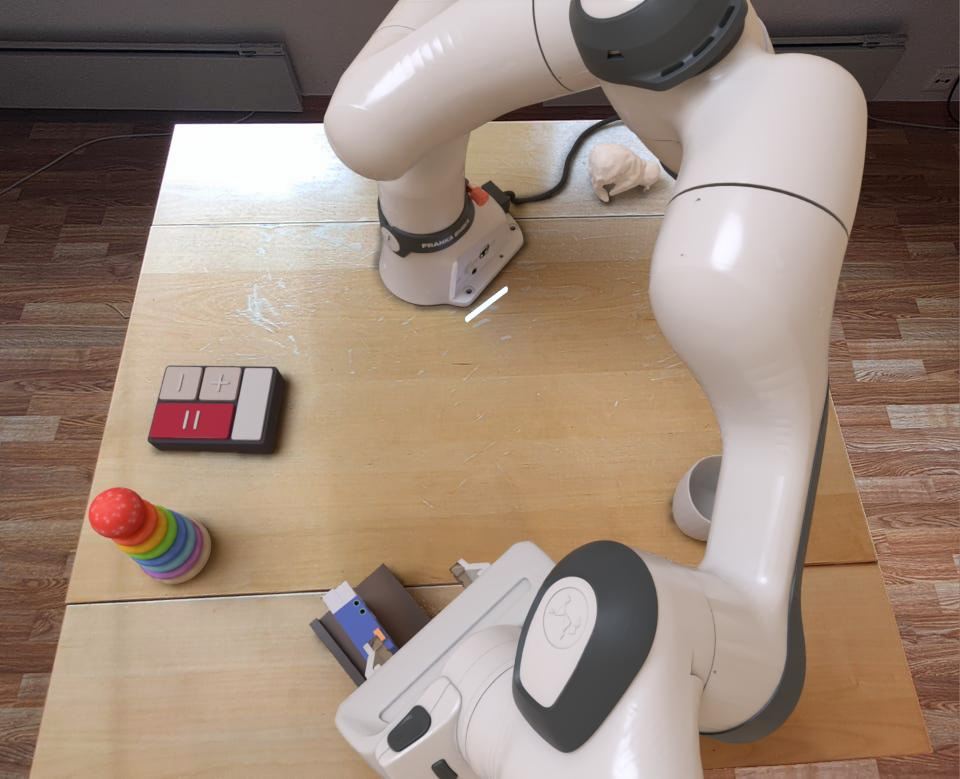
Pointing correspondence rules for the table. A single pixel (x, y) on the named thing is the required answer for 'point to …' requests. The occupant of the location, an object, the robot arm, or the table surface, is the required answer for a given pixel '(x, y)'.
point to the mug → (697, 497)
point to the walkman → (356, 618)
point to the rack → (389, 609)
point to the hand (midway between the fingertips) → (417, 606)
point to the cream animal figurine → (619, 170)
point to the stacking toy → (151, 535)
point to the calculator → (217, 409)
